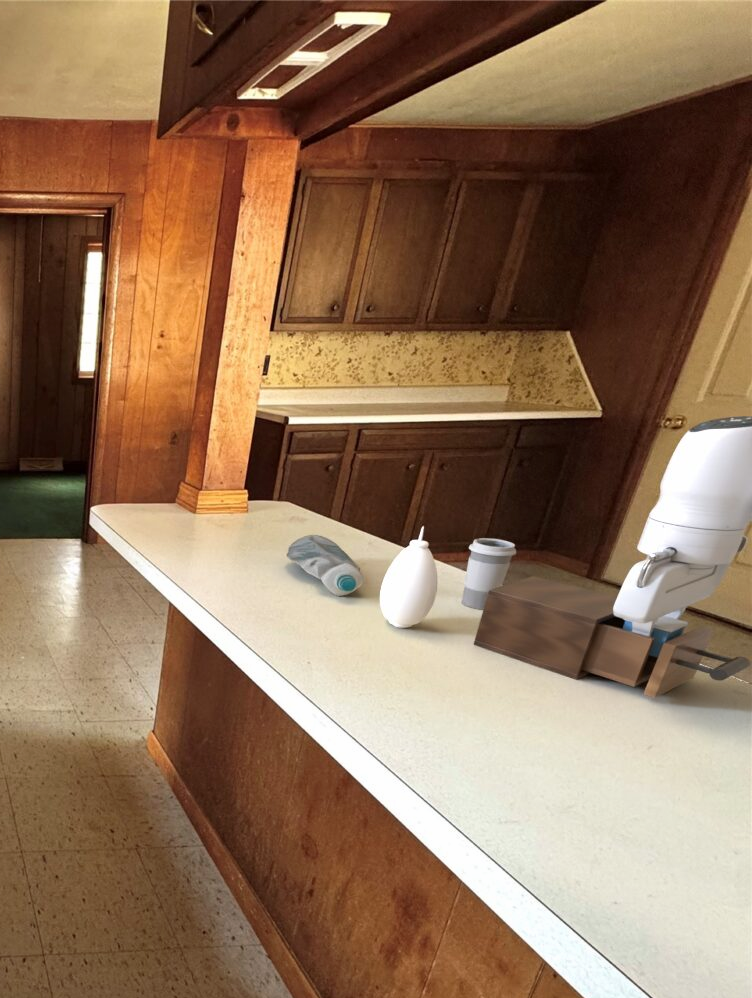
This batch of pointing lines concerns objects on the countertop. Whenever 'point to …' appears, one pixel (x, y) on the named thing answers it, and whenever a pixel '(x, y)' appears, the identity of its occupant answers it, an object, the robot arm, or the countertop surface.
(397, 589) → the white air blower bulb
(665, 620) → the plastic tub
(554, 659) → the cabinet
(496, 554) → the cup
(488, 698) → the countertop surface
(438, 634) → the countertop surface
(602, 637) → the drawer
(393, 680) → the countertop surface
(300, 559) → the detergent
